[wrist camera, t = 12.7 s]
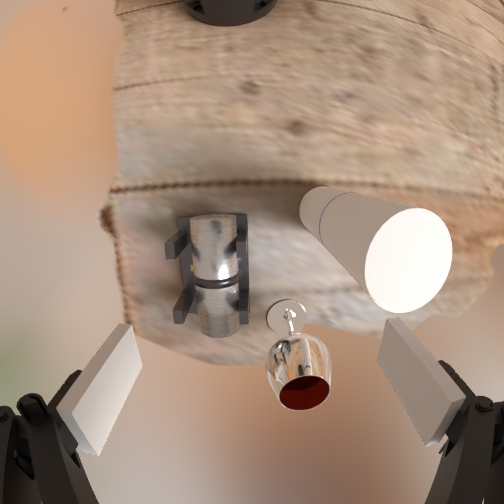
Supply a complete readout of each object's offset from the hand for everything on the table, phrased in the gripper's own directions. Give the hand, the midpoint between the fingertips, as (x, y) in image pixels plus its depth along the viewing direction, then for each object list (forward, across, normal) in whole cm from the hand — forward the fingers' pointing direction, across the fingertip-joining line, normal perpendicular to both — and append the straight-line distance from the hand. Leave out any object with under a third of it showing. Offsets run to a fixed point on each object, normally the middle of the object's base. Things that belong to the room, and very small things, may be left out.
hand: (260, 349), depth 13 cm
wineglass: (+29, +5, -14) cm, 32 cm away
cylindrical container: (+29, +10, +3) cm, 31 cm away
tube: (+27, -6, -5) cm, 29 cm away
